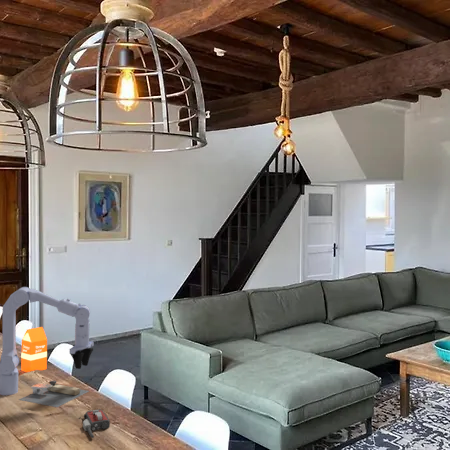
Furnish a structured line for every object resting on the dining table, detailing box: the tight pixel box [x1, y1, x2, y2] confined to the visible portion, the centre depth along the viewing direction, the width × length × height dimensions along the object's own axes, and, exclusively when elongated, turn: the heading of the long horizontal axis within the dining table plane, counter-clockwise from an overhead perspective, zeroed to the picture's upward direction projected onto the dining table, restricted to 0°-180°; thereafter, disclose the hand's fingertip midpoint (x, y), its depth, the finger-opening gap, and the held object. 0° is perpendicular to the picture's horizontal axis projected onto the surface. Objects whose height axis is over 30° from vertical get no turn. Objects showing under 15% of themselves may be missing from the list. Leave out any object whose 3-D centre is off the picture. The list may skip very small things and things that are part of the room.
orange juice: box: [20, 326, 48, 373], centre depth 240 cm, size 8×9×20 cm
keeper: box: [30, 383, 52, 395], centre depth 205 cm, size 4×7×4 cm, turn 78°
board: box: [18, 388, 90, 408], centre depth 204 cm, size 19×20×1 cm
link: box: [48, 380, 81, 395], centre depth 207 cm, size 14×3×4 cm, turn 68°
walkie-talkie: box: [82, 409, 111, 439], centre depth 176 cm, size 9×4×20 cm
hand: (81, 366), depth 212 cm, fingers open, 4 cm apart
